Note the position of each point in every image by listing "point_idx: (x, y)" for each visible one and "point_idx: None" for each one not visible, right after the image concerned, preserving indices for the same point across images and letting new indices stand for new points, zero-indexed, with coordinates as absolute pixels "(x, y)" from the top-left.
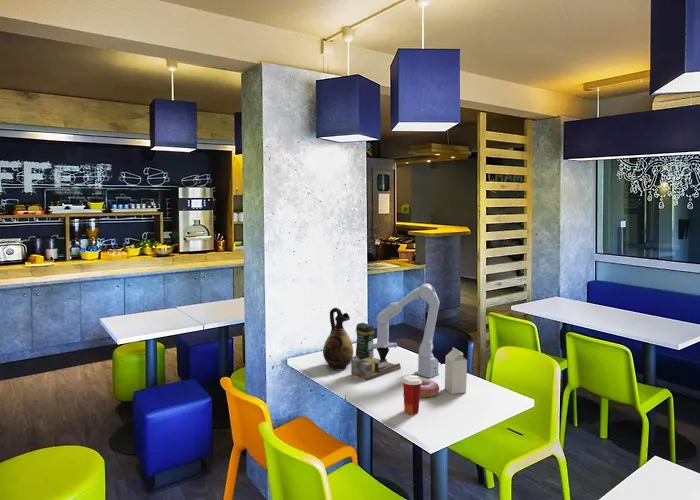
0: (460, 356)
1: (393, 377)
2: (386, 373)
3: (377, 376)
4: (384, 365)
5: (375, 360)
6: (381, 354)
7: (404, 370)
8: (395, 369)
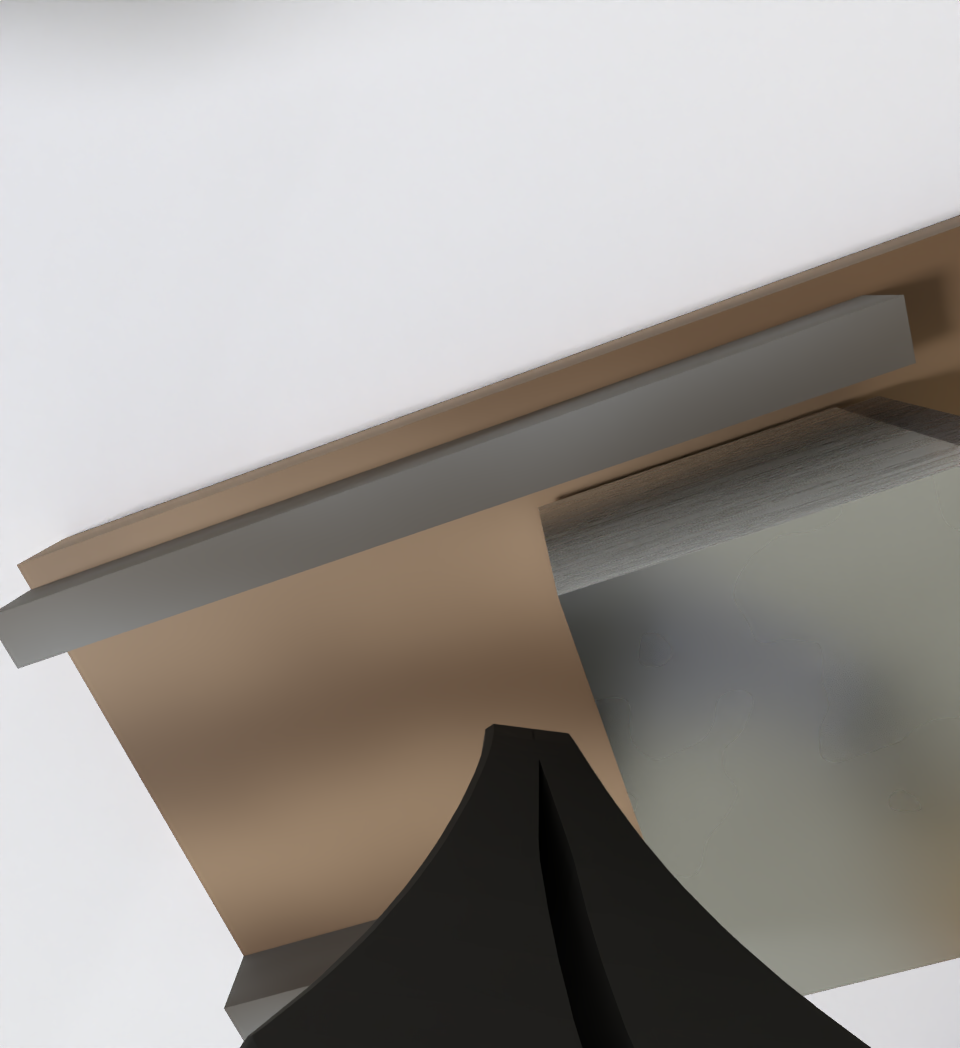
0: None
1: (533, 7)
2: (580, 352)
3: (947, 221)
4: (603, 524)
5: (866, 816)
6: (726, 959)
7: (4, 416)
8: (235, 479)
